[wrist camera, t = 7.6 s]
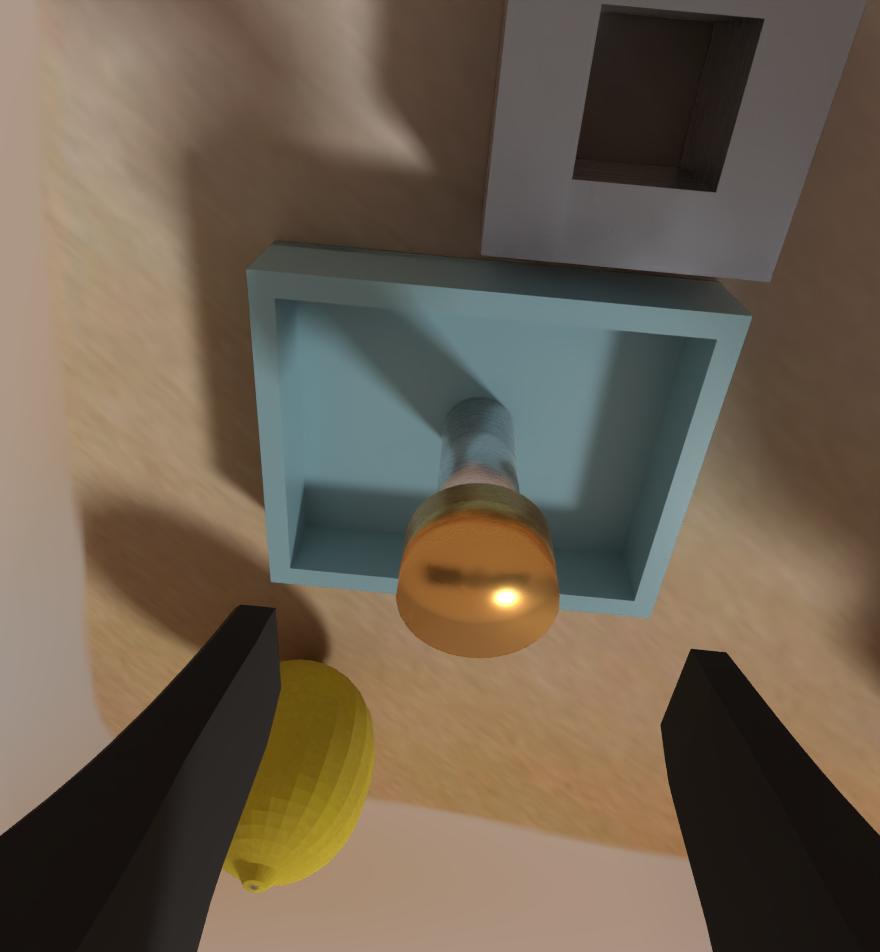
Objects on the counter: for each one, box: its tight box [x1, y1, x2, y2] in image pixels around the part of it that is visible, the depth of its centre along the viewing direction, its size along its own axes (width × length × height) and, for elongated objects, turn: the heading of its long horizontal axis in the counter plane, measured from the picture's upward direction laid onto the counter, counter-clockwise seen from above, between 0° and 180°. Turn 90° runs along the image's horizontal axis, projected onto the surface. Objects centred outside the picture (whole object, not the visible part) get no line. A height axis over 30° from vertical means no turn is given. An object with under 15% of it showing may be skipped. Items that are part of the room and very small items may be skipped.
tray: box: [246, 241, 753, 618], centre depth 18 cm, size 9×11×2 cm
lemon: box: [222, 659, 375, 893], centre depth 22 cm, size 6×6×8 cm
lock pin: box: [396, 397, 560, 658], centre depth 16 cm, size 3×3×7 cm
